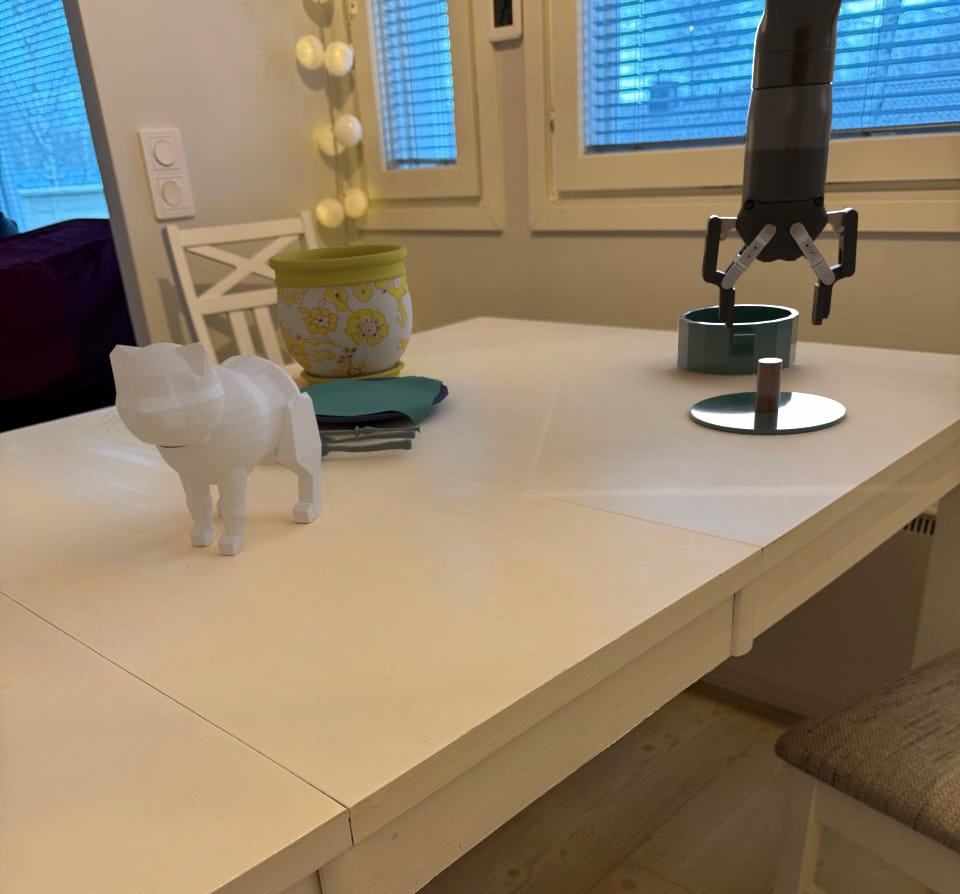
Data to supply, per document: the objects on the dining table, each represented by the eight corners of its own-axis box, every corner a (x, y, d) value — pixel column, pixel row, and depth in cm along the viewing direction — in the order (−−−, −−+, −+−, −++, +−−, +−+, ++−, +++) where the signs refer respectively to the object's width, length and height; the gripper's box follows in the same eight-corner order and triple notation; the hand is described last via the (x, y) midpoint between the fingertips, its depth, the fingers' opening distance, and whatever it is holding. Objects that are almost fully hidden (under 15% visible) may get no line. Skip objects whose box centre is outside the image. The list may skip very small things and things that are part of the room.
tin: (782, 348, 130) (786, 299, 127) (804, 382, 112) (810, 325, 109) (674, 353, 132) (675, 304, 129) (679, 386, 115) (681, 331, 112)
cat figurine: (263, 478, 93) (231, 299, 85) (362, 481, 90) (338, 296, 82) (108, 583, 72) (47, 358, 64) (231, 592, 69) (182, 357, 61)
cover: (830, 399, 105) (836, 342, 102) (858, 438, 91) (866, 374, 89) (686, 403, 108) (688, 348, 105) (693, 442, 94) (696, 380, 91)
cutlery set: (457, 388, 122) (455, 370, 121) (430, 457, 95) (428, 435, 94) (306, 396, 123) (303, 378, 122) (238, 466, 97) (234, 444, 96)
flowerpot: (330, 402, 119) (310, 263, 112) (265, 383, 132) (244, 257, 125) (444, 375, 129) (434, 246, 121) (373, 360, 142) (360, 242, 134)
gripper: (710, 149, 85) (702, 335, 93) (876, 138, 83) (854, 329, 91) (705, 148, 92) (697, 322, 99) (859, 138, 90) (839, 316, 97)
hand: (772, 325), depth 95 cm, fingers open, 8 cm apart
